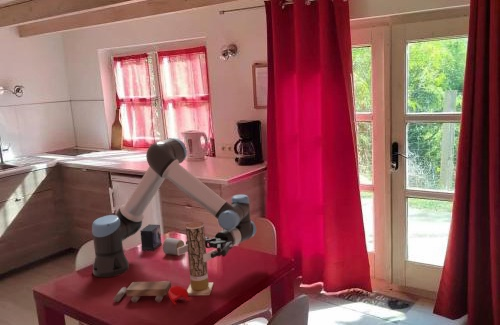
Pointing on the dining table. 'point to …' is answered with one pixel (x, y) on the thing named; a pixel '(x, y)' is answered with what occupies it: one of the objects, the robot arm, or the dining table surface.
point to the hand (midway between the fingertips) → (190, 255)
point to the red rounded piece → (177, 293)
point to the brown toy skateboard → (144, 290)
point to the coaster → (201, 292)
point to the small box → (150, 237)
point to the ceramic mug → (172, 245)
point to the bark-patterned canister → (197, 255)
